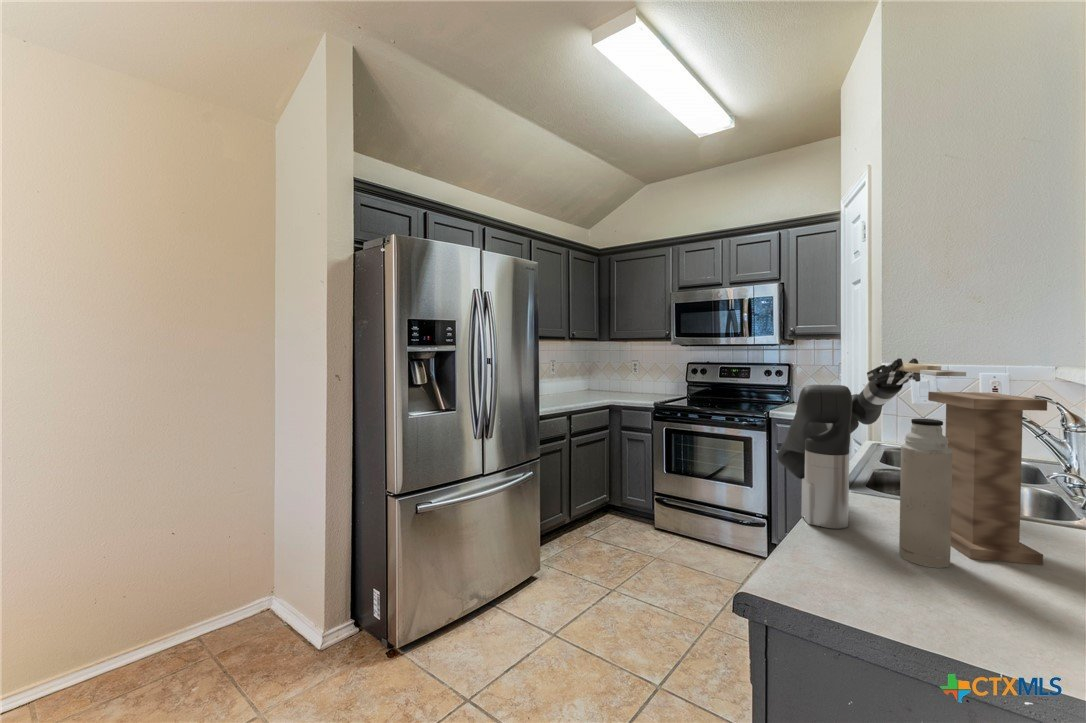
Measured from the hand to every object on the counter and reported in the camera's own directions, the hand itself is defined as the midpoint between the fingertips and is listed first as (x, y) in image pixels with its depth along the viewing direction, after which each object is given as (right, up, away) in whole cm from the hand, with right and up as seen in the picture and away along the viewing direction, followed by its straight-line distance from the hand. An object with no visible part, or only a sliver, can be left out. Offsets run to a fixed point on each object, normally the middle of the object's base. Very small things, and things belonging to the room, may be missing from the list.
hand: (908, 361), depth 131 cm
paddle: (-2, -3, -7) cm, 7 cm away
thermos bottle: (-24, -40, -35) cm, 58 cm away
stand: (-7, -39, -29) cm, 49 cm away
